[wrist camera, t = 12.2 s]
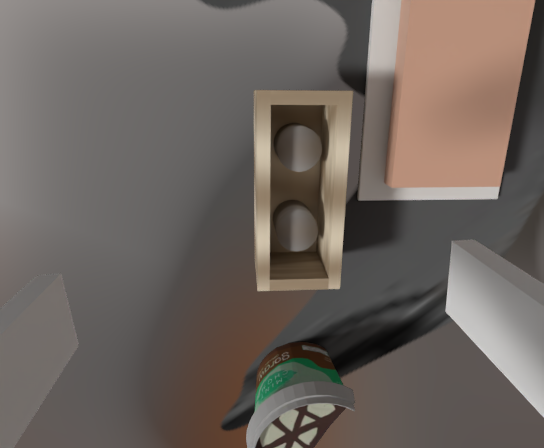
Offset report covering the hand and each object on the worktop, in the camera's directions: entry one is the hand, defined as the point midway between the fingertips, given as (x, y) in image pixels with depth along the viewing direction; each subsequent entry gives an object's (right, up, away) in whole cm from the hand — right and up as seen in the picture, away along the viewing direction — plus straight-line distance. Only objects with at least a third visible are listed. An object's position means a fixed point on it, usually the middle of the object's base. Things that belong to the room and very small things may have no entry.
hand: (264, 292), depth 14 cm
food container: (+1, -13, +31) cm, 34 cm away
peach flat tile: (+16, +15, +22) cm, 31 cm away
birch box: (+2, +7, +24) cm, 25 cm away
